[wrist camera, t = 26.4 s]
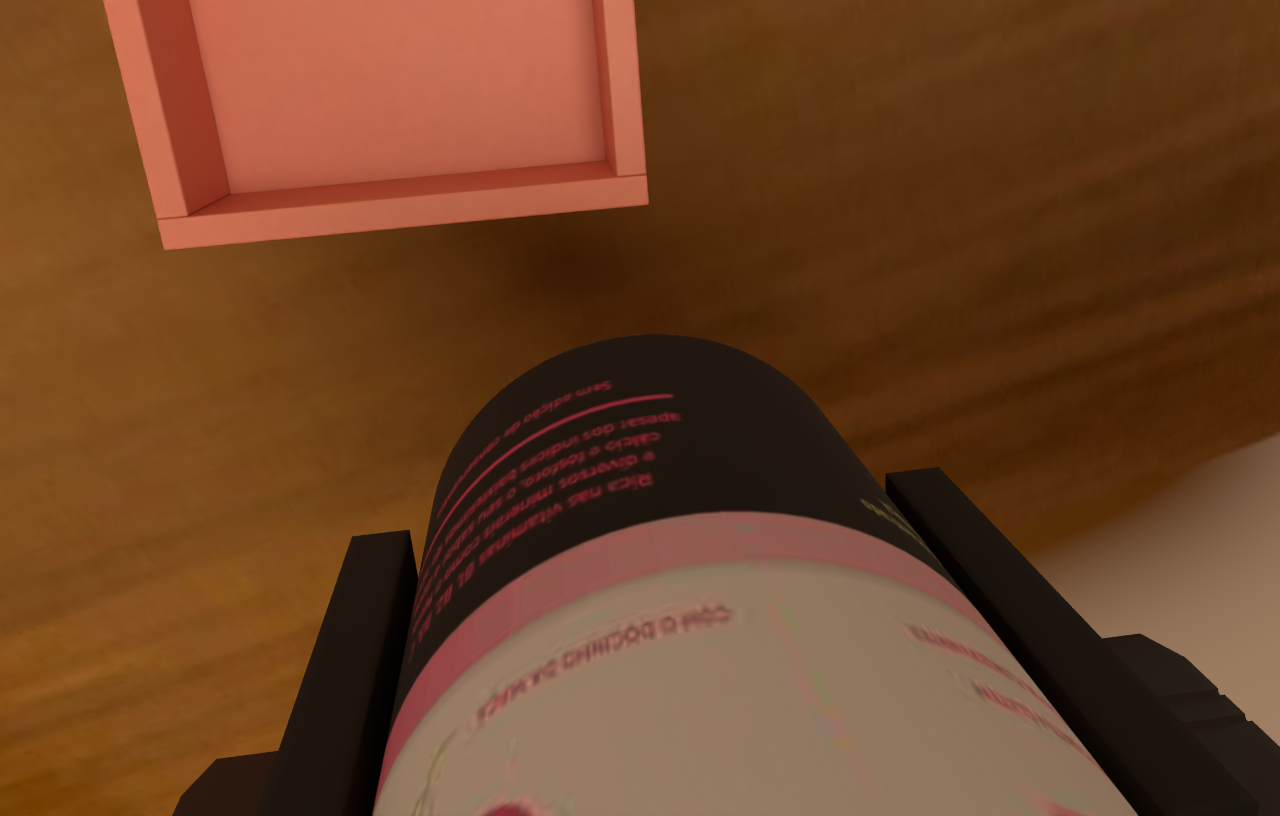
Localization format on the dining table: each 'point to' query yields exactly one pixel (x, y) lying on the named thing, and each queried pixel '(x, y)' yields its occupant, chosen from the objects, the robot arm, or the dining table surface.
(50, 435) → the dining table surface
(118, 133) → the dining table surface
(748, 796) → the beverage can
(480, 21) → the can bin
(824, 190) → the dining table surface
